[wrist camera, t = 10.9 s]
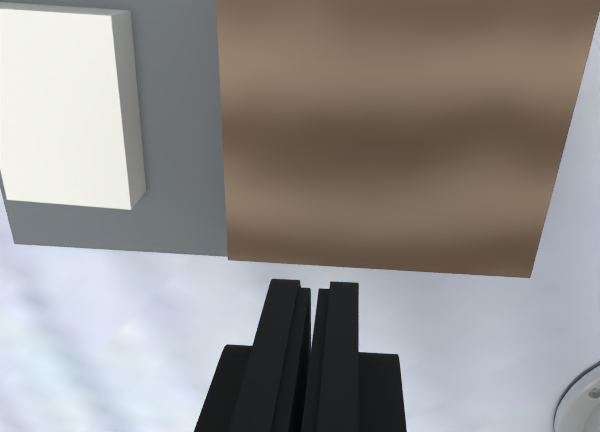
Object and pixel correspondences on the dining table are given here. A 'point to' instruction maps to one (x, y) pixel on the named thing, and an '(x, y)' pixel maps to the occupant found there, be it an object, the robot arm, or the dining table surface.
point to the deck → (396, 129)
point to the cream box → (69, 106)
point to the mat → (155, 143)
